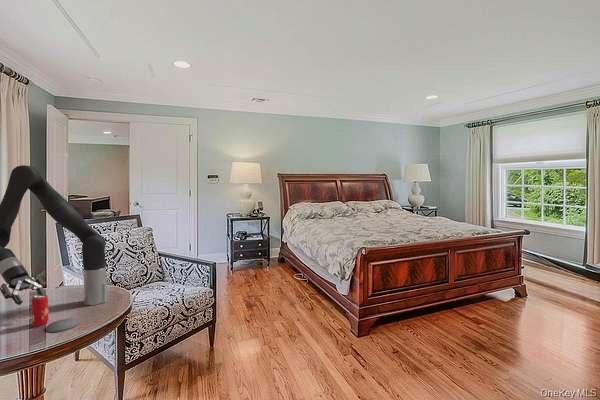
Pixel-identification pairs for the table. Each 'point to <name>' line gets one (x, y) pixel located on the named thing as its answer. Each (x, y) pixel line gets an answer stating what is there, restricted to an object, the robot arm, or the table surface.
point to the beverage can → (39, 310)
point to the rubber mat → (62, 325)
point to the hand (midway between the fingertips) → (32, 299)
